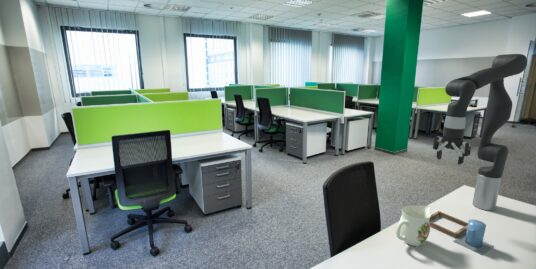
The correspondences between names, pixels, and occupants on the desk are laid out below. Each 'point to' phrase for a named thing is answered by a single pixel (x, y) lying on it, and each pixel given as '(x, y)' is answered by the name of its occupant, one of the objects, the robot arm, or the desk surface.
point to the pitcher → (414, 225)
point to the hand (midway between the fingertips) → (449, 161)
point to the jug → (475, 233)
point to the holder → (444, 230)
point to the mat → (480, 250)
